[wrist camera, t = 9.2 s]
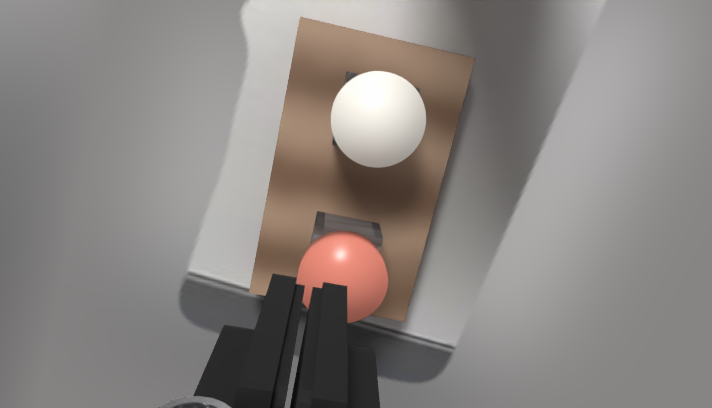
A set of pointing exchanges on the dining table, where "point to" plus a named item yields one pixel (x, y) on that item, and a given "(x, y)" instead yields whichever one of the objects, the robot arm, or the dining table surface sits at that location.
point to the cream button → (378, 119)
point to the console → (346, 177)
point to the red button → (346, 271)
